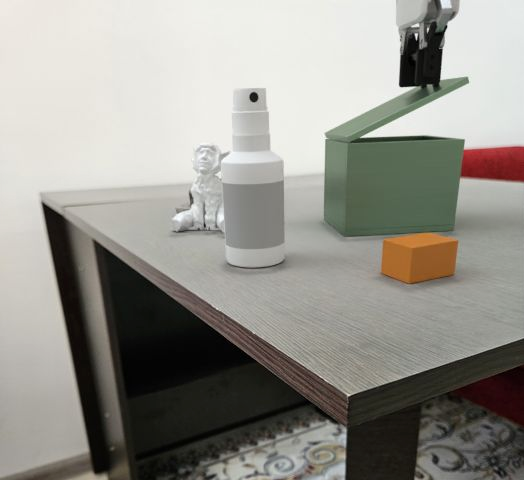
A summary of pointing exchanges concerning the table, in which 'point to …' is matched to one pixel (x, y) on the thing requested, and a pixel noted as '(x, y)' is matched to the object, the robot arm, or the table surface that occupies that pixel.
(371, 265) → the table surface
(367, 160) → the trash bin
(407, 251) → the orange rectangular block
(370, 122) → the bin lid
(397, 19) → the robot arm
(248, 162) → the spray bottle
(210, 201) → the sitting furry creature
